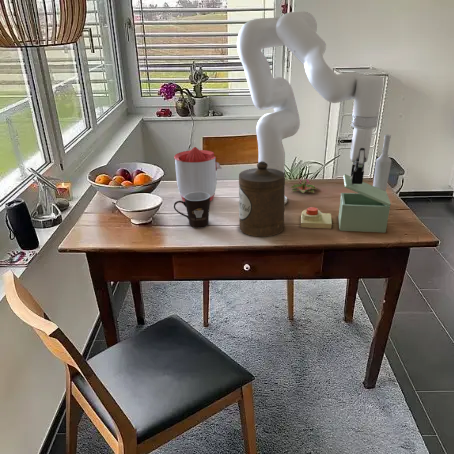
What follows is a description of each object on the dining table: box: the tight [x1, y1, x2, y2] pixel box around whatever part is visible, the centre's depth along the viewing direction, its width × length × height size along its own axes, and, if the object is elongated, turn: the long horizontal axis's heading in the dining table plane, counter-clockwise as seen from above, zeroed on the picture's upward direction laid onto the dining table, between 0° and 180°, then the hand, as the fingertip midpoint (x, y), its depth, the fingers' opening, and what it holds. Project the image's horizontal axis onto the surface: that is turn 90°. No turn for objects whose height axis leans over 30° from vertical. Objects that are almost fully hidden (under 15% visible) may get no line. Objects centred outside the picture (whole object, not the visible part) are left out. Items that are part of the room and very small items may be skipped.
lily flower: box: [289, 178, 318, 194], centre depth 187 cm, size 12×12×5 cm
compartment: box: [337, 192, 391, 234], centre depth 156 cm, size 15×12×9 cm
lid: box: [342, 167, 392, 207], centre depth 151 cm, size 16×12×5 cm
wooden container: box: [238, 161, 286, 238], centre depth 152 cm, size 15×15×22 cm
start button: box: [306, 206, 319, 215], centre depth 159 cm, size 4×4×2 cm
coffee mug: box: [173, 192, 211, 229], centre depth 159 cm, size 12×9×10 cm
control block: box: [300, 209, 333, 229], centre depth 160 cm, size 10×9×4 cm
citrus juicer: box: [173, 146, 223, 202], centre depth 176 cm, size 16×17×20 cm
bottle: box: [372, 133, 392, 192], centre depth 166 cm, size 5×5×25 cm
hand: (356, 179), depth 151 cm, fingers closed on lid, 5 cm apart
